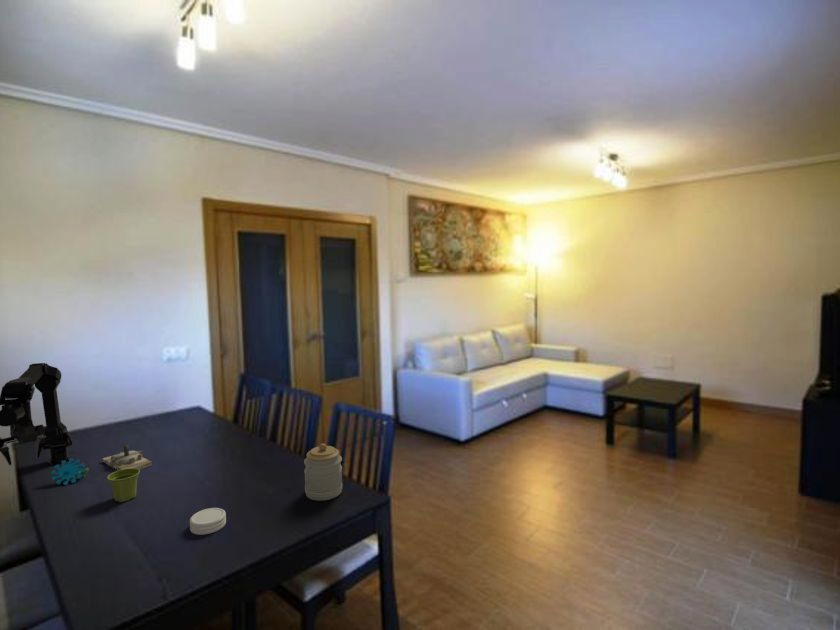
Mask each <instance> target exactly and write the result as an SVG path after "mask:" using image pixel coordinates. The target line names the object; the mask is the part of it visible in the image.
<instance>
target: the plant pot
mask: <svg viewBox="0 0 840 630" xmlns="http://www.w3.org/2000/svg"><path fill="white" fill-rule="evenodd" d="M140 472H141V469H137V468H127V469H122V470H116V471H113V472H112V473H110V474H108V475H107V478H106V479H107V480H108V482H109V483H110V485H111V489H112V494H113V498H114V502H119V503H123V502H128V501H130V500H132V499H134V498H136V497H137V489H138V487H137V486H138V478H139V475H140Z"/></svg>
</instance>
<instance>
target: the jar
mask: <svg viewBox="0 0 840 630" xmlns="http://www.w3.org/2000/svg"><path fill="white" fill-rule="evenodd" d="M305 455H306V456H305V457H306V458H305V459H304V460H303V464H304V465H305V468H304V483H305V484H304V492H305V496H306V498H308V499H309V500H312V501H320V502H321V501H329V500H331V499H335V498H337V497H338V496H340V494H341V493H342V491H343V479H342V478H343V474H342V473H343V471H342V470H343V466H342V464H341V462H342V461H343V457H342V456H341V455H340V450H339V449H337V448H336V447H334V446H331V445H326V443H321V444H319V445H318V446H315V447H313V448H311V450H309V451H308V452H307V453H306V454H305Z"/></svg>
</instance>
